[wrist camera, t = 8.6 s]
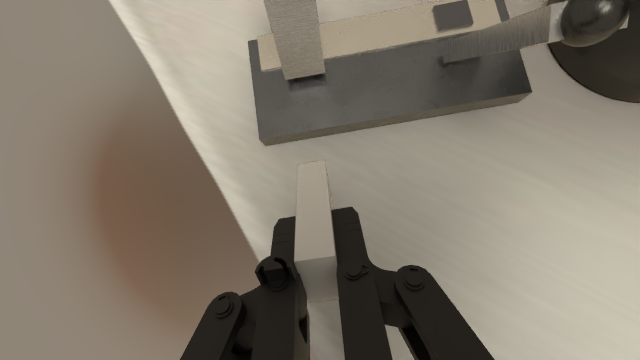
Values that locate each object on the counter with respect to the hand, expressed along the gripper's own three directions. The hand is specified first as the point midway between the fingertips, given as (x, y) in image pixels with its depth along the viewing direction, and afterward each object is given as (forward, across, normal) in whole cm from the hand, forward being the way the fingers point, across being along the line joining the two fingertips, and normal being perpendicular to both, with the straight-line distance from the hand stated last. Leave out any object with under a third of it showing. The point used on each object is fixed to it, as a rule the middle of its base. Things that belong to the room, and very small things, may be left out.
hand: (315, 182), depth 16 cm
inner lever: (+14, +14, +2) cm, 20 cm away
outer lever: (+14, 0, +2) cm, 14 cm away
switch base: (+15, +7, 0) cm, 17 cm away
